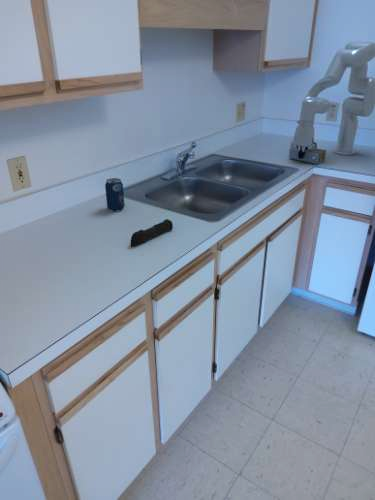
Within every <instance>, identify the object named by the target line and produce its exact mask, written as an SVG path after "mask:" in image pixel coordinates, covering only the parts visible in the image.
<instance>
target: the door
mask: <svg viewBox="0 0 375 500" xmlns="http://www.w3.org/2000/svg"><path fill="white" fill-rule="evenodd" d="M298 152H299V151H298V150H297V149H290V148H289V156H288V158H289V159H291V158H292V159H291V160H294V159H297V160H296V161H299V160H301V161H300V162H305V161H306V163H310V162H311V163H310V164H317V163H318V159H319V154H318V153H312V152H307V151H305V155H304V157H303V158H302V159H300V158H298ZM317 165H318V164H317Z"/></svg>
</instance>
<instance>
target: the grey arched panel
mask: <svg viewBox="0 0 375 500" xmlns="http://www.w3.org/2000/svg"><path fill="white" fill-rule="evenodd" d="M289 145H290V146H289V150H290V149H292V148H293V147H295V146H293V139H292V140H291V141H290V144H289ZM312 146H313V148H317V149H318V143H317V141H315V140H314V142H313V145H312Z"/></svg>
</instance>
